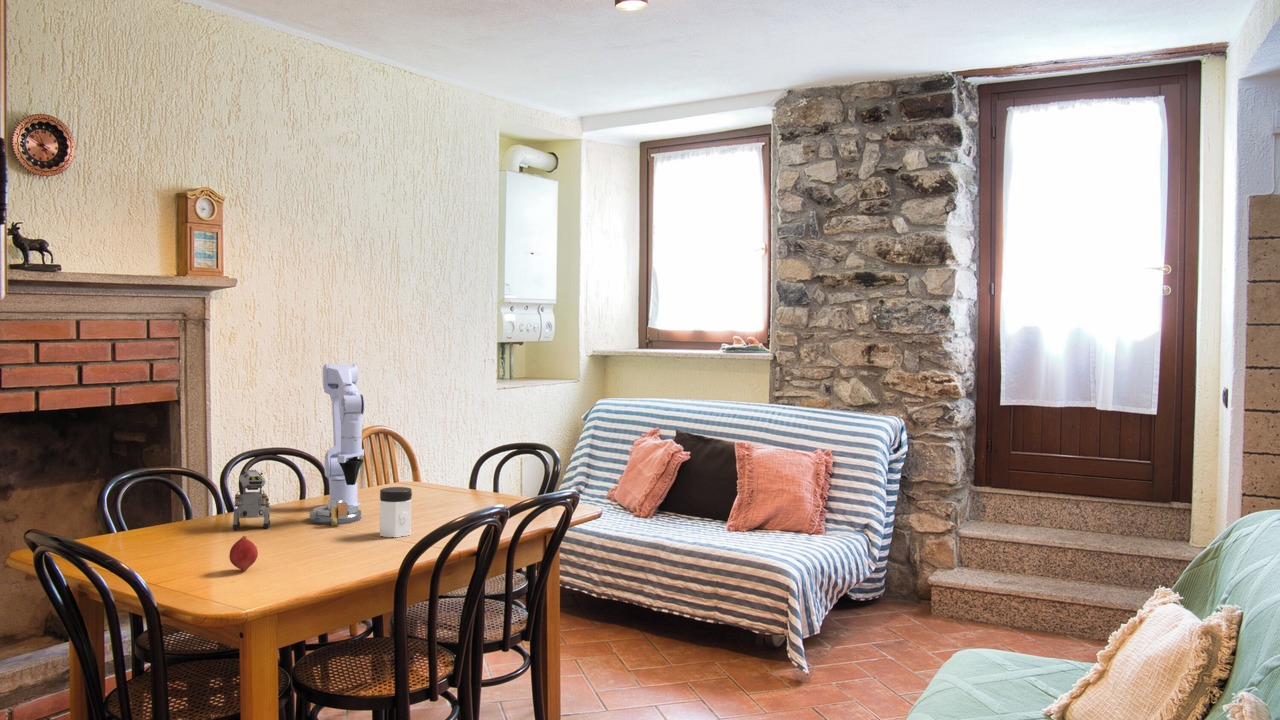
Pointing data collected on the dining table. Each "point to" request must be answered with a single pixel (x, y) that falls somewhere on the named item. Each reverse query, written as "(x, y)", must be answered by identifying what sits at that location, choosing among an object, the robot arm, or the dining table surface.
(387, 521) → the jar
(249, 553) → the onion
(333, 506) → the post base
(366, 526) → the dining table surface
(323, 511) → the grey handled ring
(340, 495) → the robot arm
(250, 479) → the figurine
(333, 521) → the dowel pin
